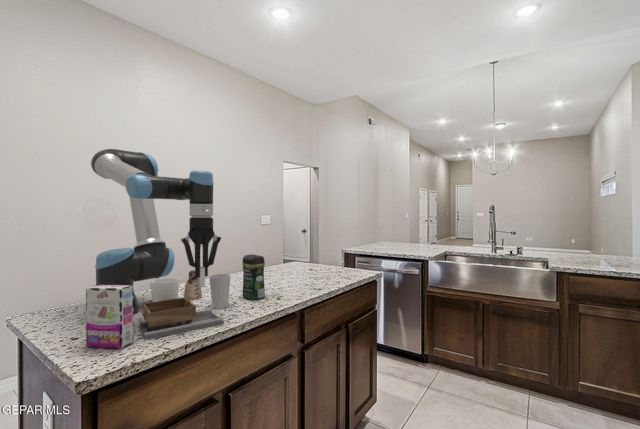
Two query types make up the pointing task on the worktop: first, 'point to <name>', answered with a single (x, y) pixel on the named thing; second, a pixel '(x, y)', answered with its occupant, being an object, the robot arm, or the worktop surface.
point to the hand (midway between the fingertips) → (201, 286)
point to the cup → (220, 290)
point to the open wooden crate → (168, 312)
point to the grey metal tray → (182, 325)
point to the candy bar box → (109, 316)
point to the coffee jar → (253, 277)
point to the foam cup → (164, 289)
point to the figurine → (192, 287)
